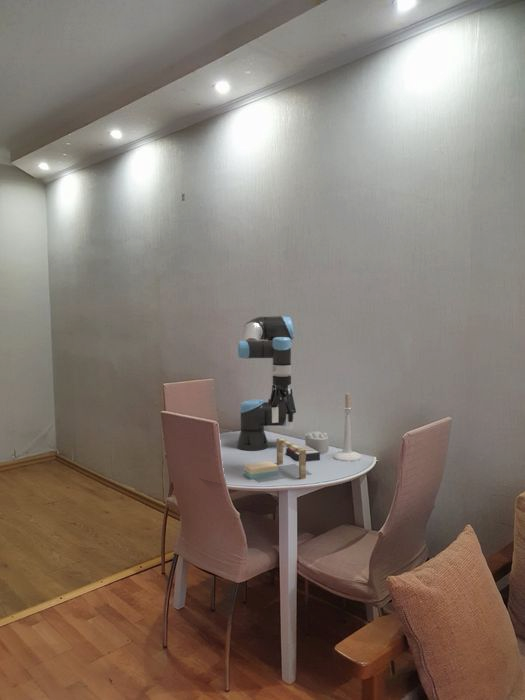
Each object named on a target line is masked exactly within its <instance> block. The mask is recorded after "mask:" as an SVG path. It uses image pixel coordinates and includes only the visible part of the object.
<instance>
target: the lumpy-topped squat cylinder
mask: <svg viewBox="0 0 525 700" xmlns="http://www.w3.org/2000/svg"><path fill="white" fill-rule="evenodd" d="M304 437H305V438H304V439H305V440H304V441H305V442H304V443H305V444H304V446H309V447H310V448H313V449H315V450H316V451H318V452H319V453H320V455H326V454H328V453H329V452H330V450H329V447H330V446H329V445H330V443H329V442H330V441H329V440H330V438H329V436H328V433H327V432H326V431H325V432H321V431H320V430H319V431H309V432H308V433H305V435H304ZM328 451H329V452H328ZM327 452H328V453H327ZM325 453H326V454H325Z"/></svg>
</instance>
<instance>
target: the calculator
mask: <svg viewBox="0 0 525 700" xmlns="http://www.w3.org/2000/svg"><path fill="white" fill-rule="evenodd" d="M297 446H298V447H300V448H302V449H304V450H306V463H307V462H315V461H320V460H321V454H320V453H319V452H318V451H316V450H315V449H313V448H310V447H309V446H305V445H297ZM285 451H286V453H285V454H286V455H287V456H289V457H290V458H292V459H293V460H295V462H299V453H297V452H296V451H294V450H292V449H290V448H288V447H286V448H285Z"/></svg>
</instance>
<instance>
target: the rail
mask: <svg viewBox="0 0 525 700" xmlns="http://www.w3.org/2000/svg"><path fill="white" fill-rule="evenodd" d="M283 446H285V447H286V448H287V447H288V448H290V449H292V450H294V451H296V452H297V453H299V461H298V466H299V476H298V478H299V479H300V480H304V479H306V478H307V475H306V471H307V462H306V450H304V449H302V448H300V447H298V446H299V445H296V444H294V443H292V442H290V441H287V440H286V439H283V438H282V437H277V438H276V465H278V466H283V465H284V447H283Z"/></svg>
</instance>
